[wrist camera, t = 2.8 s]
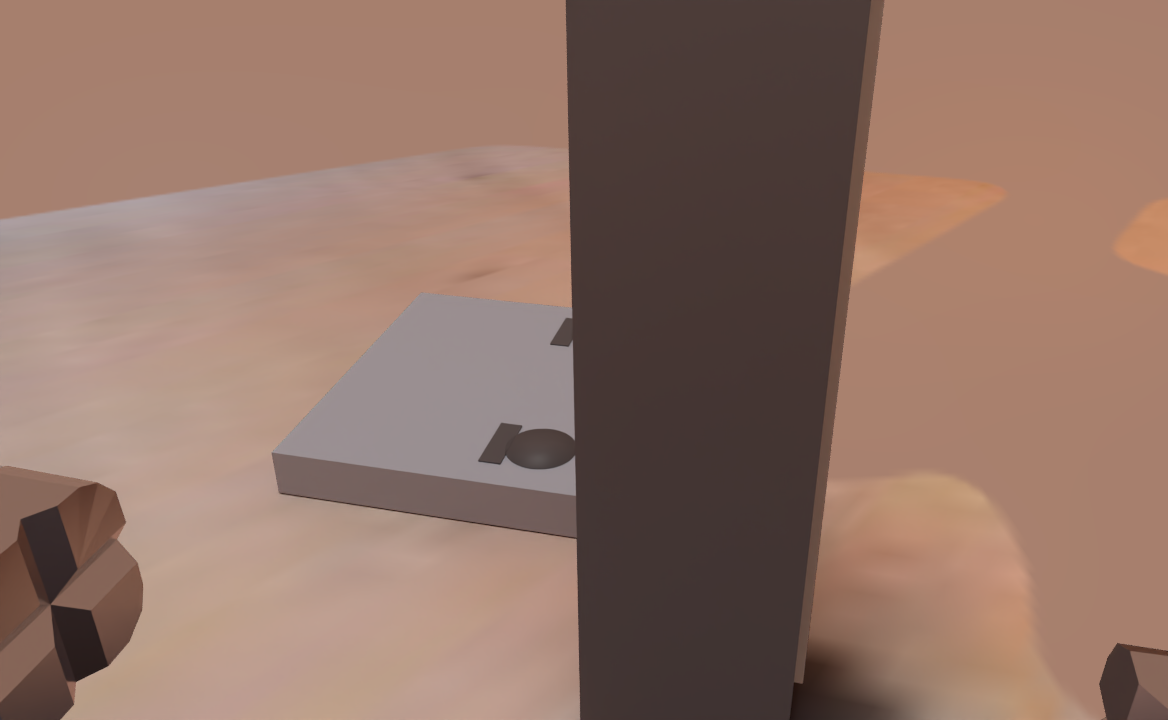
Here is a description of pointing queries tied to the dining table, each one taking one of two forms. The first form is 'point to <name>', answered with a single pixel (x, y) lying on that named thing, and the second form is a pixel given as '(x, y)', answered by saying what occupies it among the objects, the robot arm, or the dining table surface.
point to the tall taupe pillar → (708, 336)
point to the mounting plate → (450, 419)
